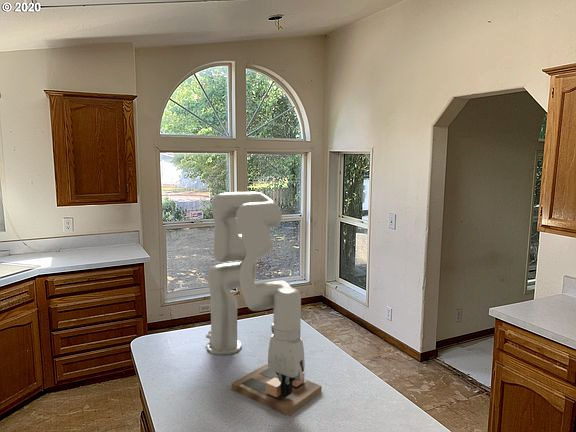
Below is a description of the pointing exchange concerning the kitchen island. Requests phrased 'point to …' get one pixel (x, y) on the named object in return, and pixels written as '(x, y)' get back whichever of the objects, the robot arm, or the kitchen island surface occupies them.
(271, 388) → the tab
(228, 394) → the kitchen island surface
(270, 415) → the kitchen island surface
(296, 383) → the tab
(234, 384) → the switch board
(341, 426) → the kitchen island surface
